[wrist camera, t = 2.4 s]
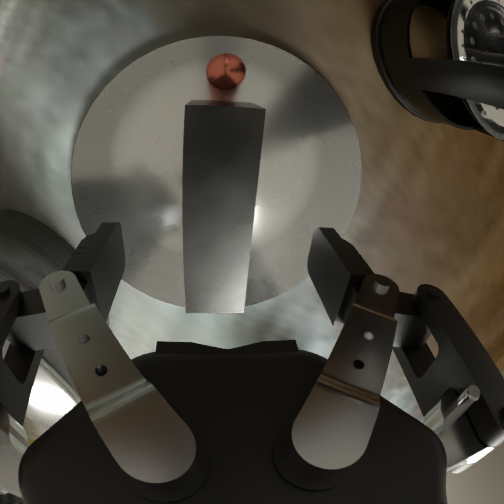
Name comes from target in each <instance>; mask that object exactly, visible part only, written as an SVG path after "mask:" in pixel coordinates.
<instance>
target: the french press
mask: <svg viewBox="0 0 504 504" xmlns="http://www.w3.org/2000/svg"><path fill="white" fill-rule="evenodd" d="M416 7H423V8H428V9H431V10H433V11H436V12H438V13H439V14H441V15H442V16H444V17H445V18H446V19H447V25H446V43H447V54H448V59H432V58H412V53H411V47H410V22H411V15H412V13H413V10H414V8H416ZM372 47H373V53H374V59H375V62H376V65H377V68H378V71H379V74H380V75H381V77H382V79H383V81H384V83H385V85H386V87H387V89H388V90H389V91H390V93H391V94H392V96H393V97H394V98H395V99H396V100H397V102H398V103H399V104H400V105H401V106H402V107H403V108H404V109H406V110H407V111H409V112H410V113H411V114H413V115H414V116H416V117H418V118H421V119H423V120H425V121H430V122H434V123H445V124H448V125H451V126H454V127H457V128H461V129H464V130H477V131H480V132H482V133H485V134H487V135H490V136H492V137H495V138H497V139H499V140H502V141H504V0H385V1H384V3H383V4H382V5H381V6H380V7H379V9H378V12H377V14H376V16H375V18H374V23H373V28H372ZM424 90H426V91H432V92H437V93H442V94H447V95H451V96H456V97H457V98H456V99H454V100H453V101H451V102H449V103H446V104H433V103H432V102H431V101H430V99H429V97H428V96H427V94H426V92H425V91H424Z"/></svg>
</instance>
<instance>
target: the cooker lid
mask: <svg viewBox="0 0 504 504" xmlns="http://www.w3.org/2000/svg"><path fill="white" fill-rule="evenodd" d="M361 174H362V164H361V154H360V147H359V143H358V139H357V135H356V131H355V128H354V126H353V123H352V121H351V118H350V116H349V113H348V112H347V110H346V108H345V107H344V105H343V103H342V101H341V100H340V98H339V96H338V95H337V94H336V93H335V91H334V90H333V89H332V88H331V86H330V85H329V84H328V83H327V82H326V80H324V79H323V78H322V77H321V76H320V75H319V74H318V73H317V72H316V71H315V70H314V69H312V68H311V67H310V66H309V65H307V64H306V63H304V62H303V61H301V60H300V59H298V58H297V57H295V56H294V55H292V54H290V53H288V52H286V51H284V50H282V49H279V48H277V47H275V46H273V45H270V44H266V43H263V42H260V41H256V40H253V39H248V38H241V37H233V36H204V37H197V38H191V39H185V40H181V41H178V42H175V43H172V44H168V45H165V46H163V47H160V48H158V49H156V50H154V51H152V52H150V53H148V54H146V55H144V56H142V57H140V58H139V59H137V60H136V61H134V62H133V63H132V64H130V65H129V66H127V67H126V68H125V69H123V70H122V71H121V72H120V73H119V74H118V75H117V76H116V77H114V78H113V79H112V80H111V81H110V82H109V83H108V84H107V85H106V87H105V88H104V89H103V90H102V92H101V93H100V94H99V95H98V97H97V98H96V99H95V101H94V102H93V104H92V106H91V107H90V109H89V111H88V113H87V115H86V116H85V118H84V120H83V123H82V125H81V128H80V130H79V133H78V136H77V139H76V143H75V147H74V152H73V157H72V168H71V184H72V195H73V200H74V205H75V210H76V213H77V216H78V219H79V222H80V224H81V227H82V229H83V231H84V233H85V235H86V237H87V236H88V235H90V234H94V233H95V232H96V230H97V229H98V227H99V226H100V225H101V223H102V222H120V224H121V227H122V235H123V243H124V251H125V270H124V273H123V275H122V278H121V279H122V280H124V281H125V282H127V283H128V284H130V285H131V286H133V287H134V288H136V289H137V290H139V291H141V292H143V293H145V294H147V295H149V296H151V297H153V298H156V299H159V300H161V301H164V302H167V303H170V304H174V305H178V306H182V307H186V313H244V306H248V305H252V304H256V303H260V302H263V301H265V300H268V299H271V298H273V297H276V296H278V295H280V294H282V293H284V292H286V291H288V290H290V289H291V288H293V287H294V286H296V285H298V284H299V283H301V282H302V281H304V280H305V279H306V278H307V277H309V276H310V275H309V273H308V269H307V260H308V255H309V251H310V246H311V241H312V237H313V232H314V230H315V228H316V227H326V228H334V229H335V230H336V232H337V233H338V234H339V235H340V237H341V238H343V237H344V235H345V233H346V232H347V229H348V227H349V225H350V223H351V221H352V218H353V216H354V213H355V210H356V206H357V203H358V199H359V193H360V188H361Z"/></svg>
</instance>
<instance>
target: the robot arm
mask: <svg viewBox="0 0 504 504" xmlns="http://www.w3.org/2000/svg"><path fill="white" fill-rule="evenodd" d="M307 269H308V273H309V275H310V277H311V280H312V282H313V284H314V286H315V288H316V290H317V292H318V294H319V297H320V299H321V301H322V303H323V305H324V307H325V309H326V312H327V314H328V316H329V318H330V320H331V323H332V325H333V326H338V325H344V326H343V329H342V331H341V333H340V335H339V337H338V339H337V342H336V344H335V346H334V348H333V350H332V352H331V354H330V356H329V358H328V359H326V358H324V357H322V356H319V355H317V354H314V353H311V352H308V351H303V350H298V347H297V344H296V341H295V340H283V341H262V342H258V343H254V344H250V345H246V346H241V347H237V348H233V349H222V348H217V347H212V346H207V345H202V344H197V343H192V342H161V341H157V346H156V352H151V353H147V354H144V355H141V356H138V357H136V358H134V359H132V360H131V359H130V358H129V356H128V355H127V354H126V352H125V351H124V349H123V348H122V346H121V345H120V343H119V342H118V340H117V339H116V337H115V336H114V334H113V333H112V331H111V329H110V328H109V326H108V325H107V323H106V321H107V318H108V315H109V312H110V309H111V306H112V303H113V300H114V297H115V294H116V292H117V289H118V286H119V283H120V281H121V278H122V275H123V273H124V270H125V251H124V243H123V235H122V227H121V224H120V222H102V223H101V225H100V226H99V227H98V229H97V230H96V232H95V233H94V234H90V235H88V236H87V237H85V238H84V239H83V240H82V241H81V242H80V244H79V245H78V246H77V249H75V251H74V252H73V254H72V256H71V257H70V259H69V260H68V262H67V263H66V265H65V266H64V268H63V270H62V271H57V272H53V273H51V274H49V275H47V276H46V277H45V278H44V279H43V280H42V281H41V283H40V285H39V289H34V290H29V291H23V292H22V290H21V288H20V285H19V283H18V282H17V281H15V280H6V281H3V282H0V495H3V494H7V493H11V494H13V495H16V496H19V497H21V498H23V500H24V503H25V504H447V497H446V473H447V472H448V471H449V472H451V473H460V472H462V471H464V470H465V469H467V468H468V467H470V466H471V465H473V464H474V463H476V462H477V461H479V460H480V459H482V458H483V457H484V456H486V455H487V454H488V453H490V452H491V451H492V450H494V449H495V448H496V447H498V446H499V445H500V444H501V443H503V442H504V378H503V377H502V375H501V373H500V372H499V370H498V368H497V367H496V365H495V364H494V362H493V360H492V359H491V357H490V356H489V354H488V353H487V351H486V350H485V348H484V347H483V345H482V344H481V342H480V341H479V339H478V338H477V336H476V335H475V334H474V332H473V331H472V329H471V328H470V327H469V325H468V324H467V322H466V321H465V320H464V318H463V317H462V316H461V314H460V313H459V311H458V310H457V309H456V308H455V306H454V305H453V304H452V302H451V301H450V300H449V298H448V297H447V296H446V295H445V293H444V292H443V291H441V290H440V289H438V288H437V287H435V286H432V285H428V284H422V285H420V286H419V287H418V289H417V291H416V293H415V295H414V294H408V293H403V292H399V288H398V286H397V284H396V283H395V282H394V281H392V280H391V279H389V278H388V277H385V276H383V275H379V274H374V272H373V271H372V270H371V268H370V267H369V266H368V264H367V263H366V262H365V260H364V259H363V258H362V256H361V255H360V254H358V251H357V250H356V249H355V247H354V246H353V245H352V244H350V243H349V242H347V241H346V240H344V239H342V238H341V237H340V235H339V234H338V233H337V232H336V230H335V229H334V228H326V227H316V228H315V230H314V232H313V237H312V241H311V246H310V251H309V255H308V260H307ZM431 333H432V335H433V336H434V338H435V340H436V341H437V343H438V347H439V351H438V355H437V357H436V358H435V357H434V356H433V354H432V352H431V350H430V349H429V347H428V345H427V343H426V341H427V340H428V338H429V336H430V335H431ZM7 337H8V339H9V341H10V345H9V347H8V349H7V352H6V354H5V357H4V359H3V354H2V350H3V345H4V343H5V341H6V339H7ZM55 347H58V349H59V352H60V354H61V357H62V359H63V361H64V364H65V366H66V368H67V371H68V373H69V375H70V377H71V379H72V382H73V384H74V386H75V388H76V390H77V392H78V394H79V396H80V398H81V401H80V402H79V403H78V404H77V405H76V406H74V407H73V408H72V409H71V410H70V411H69V412H67V413H66V414H65V415H64V416H63V417H62V418H61V419H59V420H58V421H57V422H56V423H55V424H54V425H52V426H51V427H50V428H49V429H48V430H47V431H45V432H44V433H43V434H42V435H41V436H40V437H38V438H37V439H36V440H35V441H34V442H33V443H32V444H31V445H30V446H29V447H28V437H27V434H26V432H25V430H24V428H23V424H24V420H25V415H26V411H27V407H28V403H29V399H30V395H31V392H32V388H33V385H34V381H35V378H36V374H37V371H38V368H39V365H40V362H41V359H42V356H43V353H44V350H45V349H48V348H55ZM392 349H393V351H394V353H395V355H396V357H397V359H398V361H399V363H400V365H401V367H402V369H403V372H404V374H405V376H406V378H407V380H408V382H409V384H410V387H411V389H412V391H413V393H414V396H415V398H416V400H417V402H418V405H419V407H420V409H421V412H422V414H423V416H424V421H423V423H421V422H420V421H418V420H417V419H415V418H414V417H412V416H411V415H409V414H408V413H406V412H404V411H403V410H401V409H400V408H398V407H397V406H395V405H394V404H392V403H391V402H389V401H388V400H386V399H385V398H383V397H382V396H380V394H381V390H382V387H383V383H384V379H385V376H386V372H387V368H388V364H389V360H390V356H391V352H392Z"/></svg>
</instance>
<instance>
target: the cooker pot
mask: <svg viewBox="0 0 504 504" xmlns="http://www.w3.org/2000/svg"><path fill="white" fill-rule="evenodd" d="M74 251H75V250H74V249H73V248H72V247H71V246H70V245H69V244H68V243H67V242H66V241H65V240H64V239H63V238H61V237H60V236H59V235H58V234H56V233H55V232H54V231H53V230H51V229H50V228H49V227H47V226H46V225H44V224H43V223H41V222H39V221H38V220H36V219H34V218H32V217H30V216H28V215H25V214H23V213H20V212H17V211H13V210H8V209H0V282H3V281H6V280H15V281H17V282H18V283H19V285H20V288H21V290H22V292H23V291H29V290H34V289H39V285H40V283H41V281H42V280H43V279H44V278H45V277H46V276H47V275H49V274H51V273H53V272H57V271H62V270H63V268H64V266H65V265H66V263H67V262H68V260H69V259H70V257H71V256H72V254H73V252H74ZM106 323H107V325H108V326H109V315H108V318H107V321H106ZM9 345H10V341H9V339H8V337H7V339H6V341H5V343H4V345H3V350H2V354H3V359H4V357H5V354H6V352H7V349H8V347H9ZM80 401H81V398H80V396H79V394H78V392H77V390H76V388H75V386H74V384H73V382H72V379H71V377H70V375H69V373H68V371H67V368H66V366H65V364H64V361H63V359H62V357H61V354H60V352H59V349H58V347H55V348H48V349H45V350H44V353H43V356H42V359H41V362H40V365H39V368H38V371H37V374H36V378H35V381H34V385H33V388H32V392H31V395H30V399H29V403H28V407H27V411H26V415H25V420H24V424H23V428H24V430H25V432H26V434H27V437H28V438H31V439H34V440H36V439H37V438H38V437H40V436H41V435H42V434H43V433H44V432H45V431H47V430H48V429H49V428H50V427H51V426H52V425H54V424H55V423H56V422H57V421H58V420H59V419H61V418H62V417H63V416H64V415H65V414H66V413H67V412H69V411H70V410H71V409H72V408H73V407H74V406H76V405H77V404H78V403H79V402H80Z"/></svg>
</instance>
